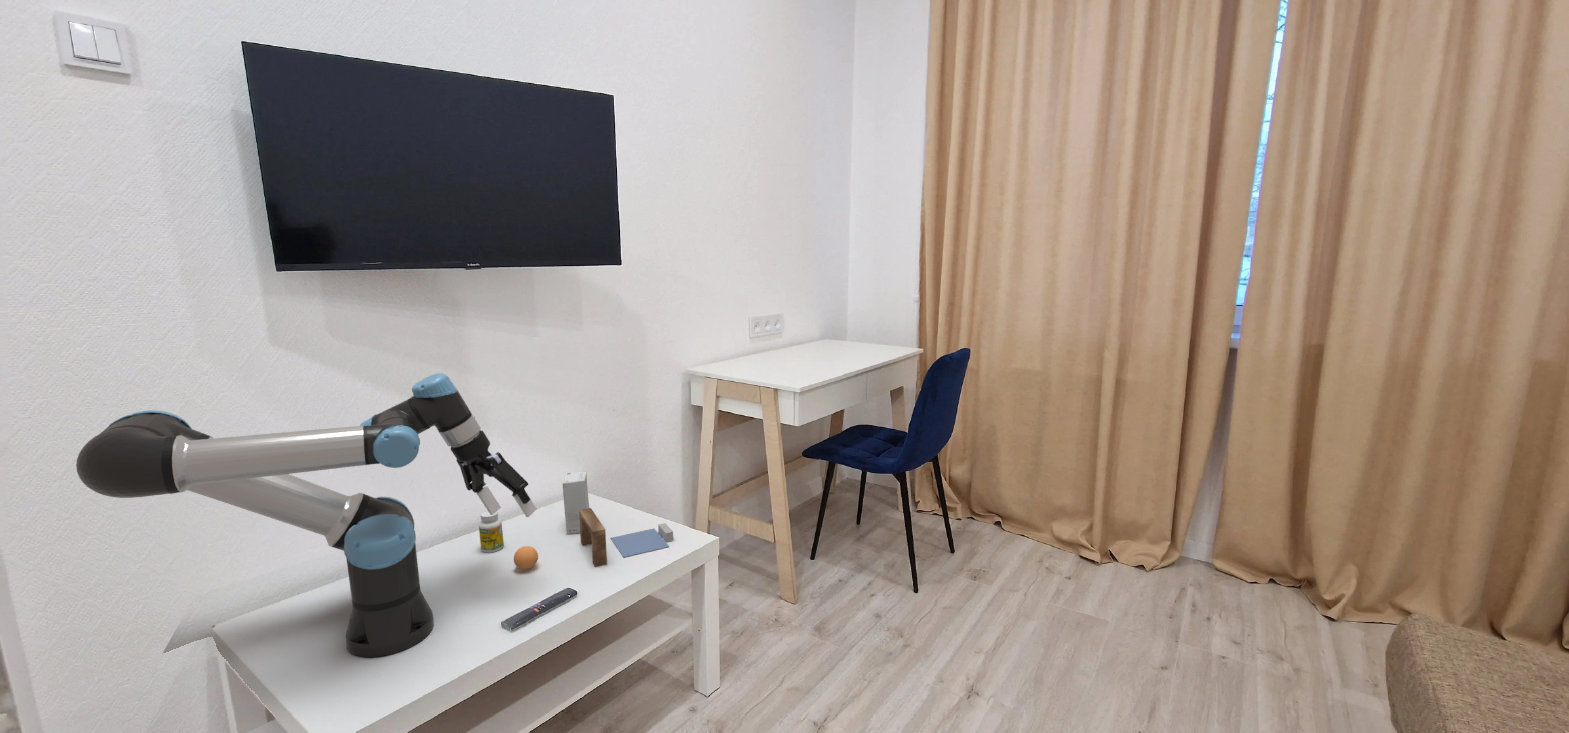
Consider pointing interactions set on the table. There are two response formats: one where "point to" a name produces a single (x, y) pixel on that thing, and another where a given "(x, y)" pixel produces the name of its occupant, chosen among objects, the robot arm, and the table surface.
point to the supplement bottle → (490, 532)
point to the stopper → (665, 532)
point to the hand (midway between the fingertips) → (513, 512)
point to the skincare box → (574, 499)
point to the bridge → (593, 536)
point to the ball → (525, 557)
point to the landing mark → (639, 542)
